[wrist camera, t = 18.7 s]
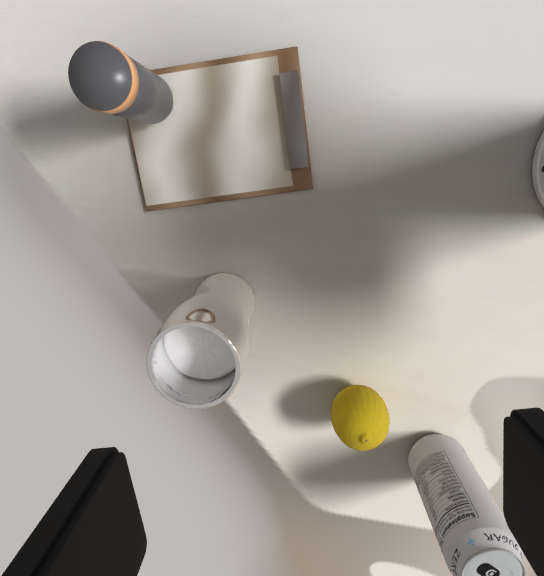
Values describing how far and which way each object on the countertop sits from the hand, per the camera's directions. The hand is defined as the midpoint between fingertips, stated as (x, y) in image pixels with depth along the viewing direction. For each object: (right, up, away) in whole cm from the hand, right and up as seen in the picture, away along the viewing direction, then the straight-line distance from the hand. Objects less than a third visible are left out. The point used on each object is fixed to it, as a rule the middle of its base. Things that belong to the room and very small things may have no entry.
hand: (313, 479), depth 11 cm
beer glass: (-6, +3, +34) cm, 35 cm away
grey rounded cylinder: (-11, +21, +29) cm, 37 cm away
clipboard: (-6, +19, +30) cm, 36 cm away
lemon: (+8, -7, +36) cm, 38 cm away
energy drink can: (+17, -13, +38) cm, 43 cm away
